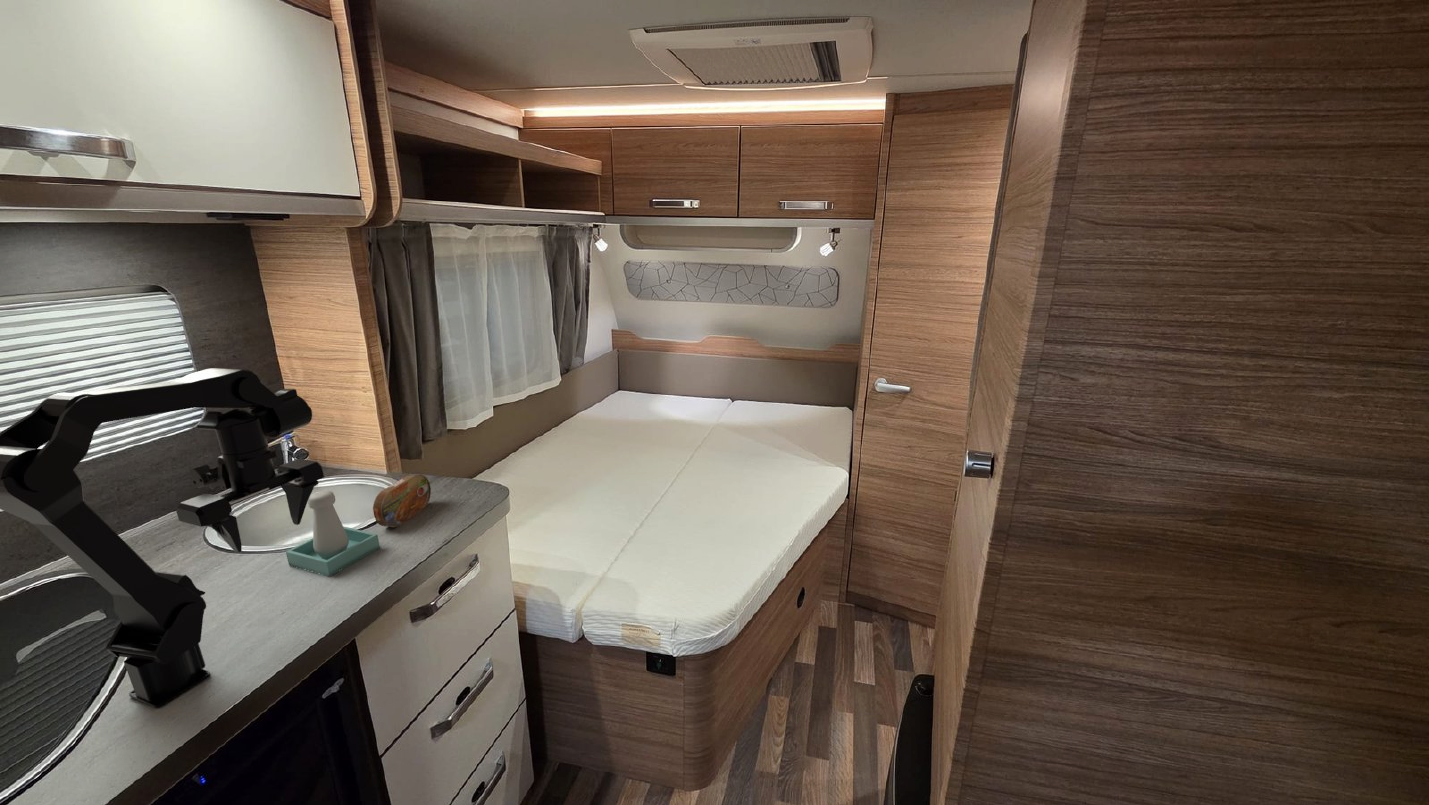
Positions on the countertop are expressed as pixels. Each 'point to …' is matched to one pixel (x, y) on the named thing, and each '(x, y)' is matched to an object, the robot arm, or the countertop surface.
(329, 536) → the salt shaker
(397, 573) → the countertop surface
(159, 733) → the countertop surface
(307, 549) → the tray
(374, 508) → the tin
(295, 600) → the countertop surface
